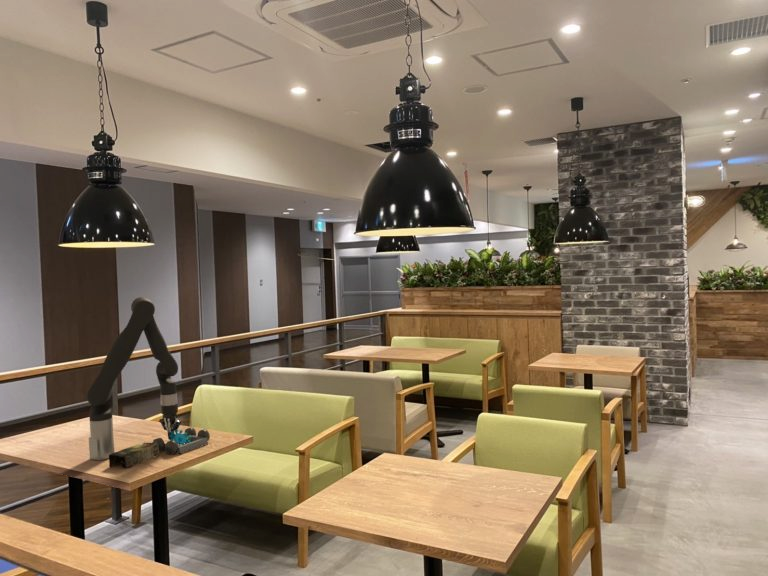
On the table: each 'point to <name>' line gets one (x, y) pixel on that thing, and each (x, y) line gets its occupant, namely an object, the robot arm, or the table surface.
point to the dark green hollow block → (134, 454)
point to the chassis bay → (194, 443)
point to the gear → (180, 437)
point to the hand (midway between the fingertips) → (171, 439)
